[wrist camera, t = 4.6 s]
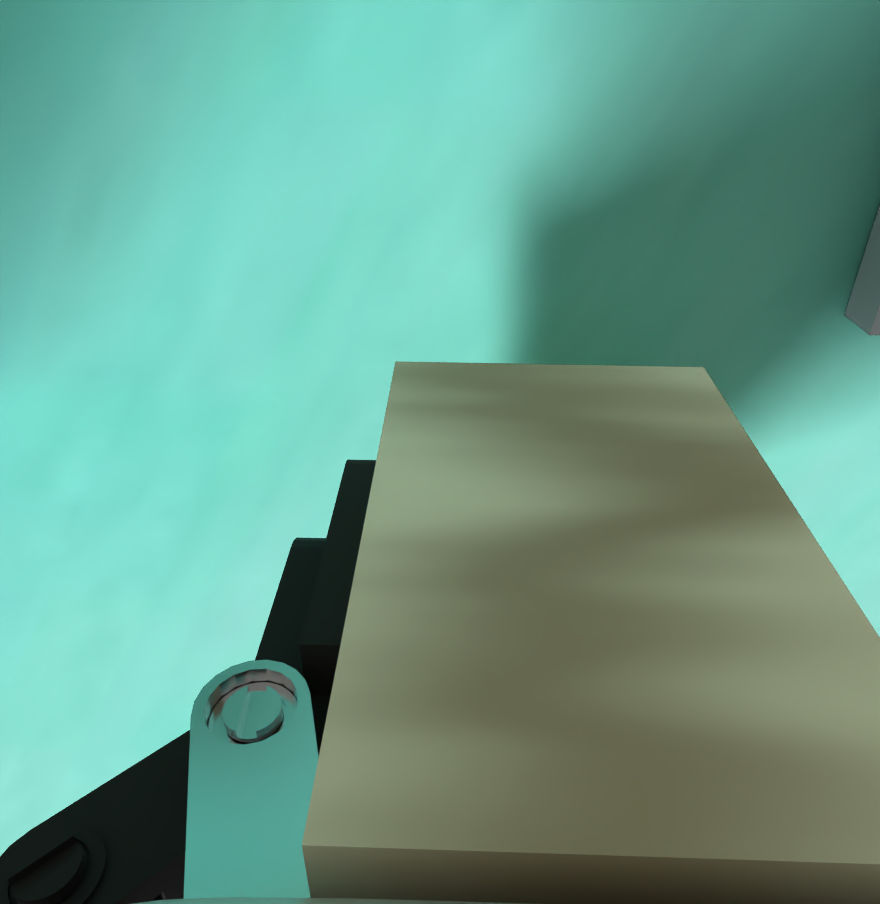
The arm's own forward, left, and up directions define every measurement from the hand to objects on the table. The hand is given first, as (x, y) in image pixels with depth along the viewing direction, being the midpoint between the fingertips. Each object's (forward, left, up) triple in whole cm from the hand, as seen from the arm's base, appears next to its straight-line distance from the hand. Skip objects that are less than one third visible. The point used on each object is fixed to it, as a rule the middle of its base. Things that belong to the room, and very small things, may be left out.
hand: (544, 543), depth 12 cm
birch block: (0, 0, -2) cm, 2 cm away
